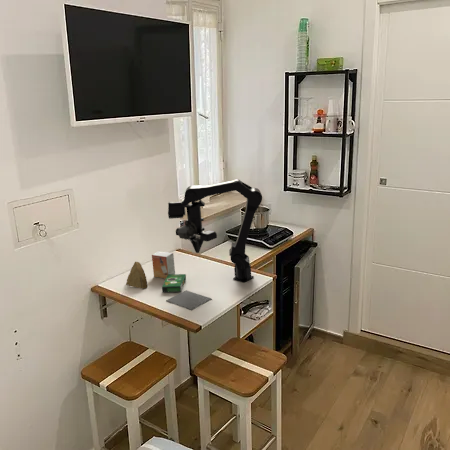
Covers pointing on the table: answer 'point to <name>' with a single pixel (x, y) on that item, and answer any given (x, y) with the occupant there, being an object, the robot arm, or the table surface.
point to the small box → (163, 264)
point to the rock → (137, 277)
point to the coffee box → (174, 283)
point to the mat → (188, 300)
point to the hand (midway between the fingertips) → (197, 252)
